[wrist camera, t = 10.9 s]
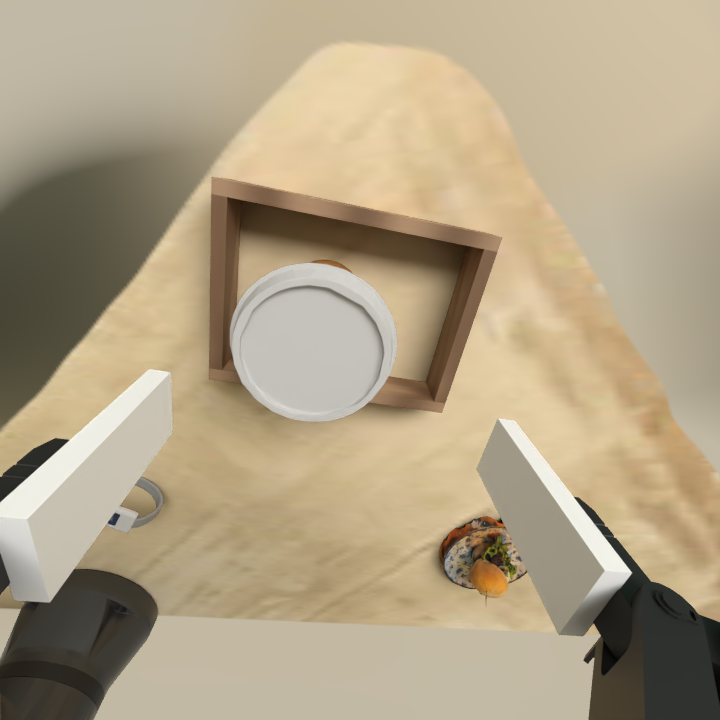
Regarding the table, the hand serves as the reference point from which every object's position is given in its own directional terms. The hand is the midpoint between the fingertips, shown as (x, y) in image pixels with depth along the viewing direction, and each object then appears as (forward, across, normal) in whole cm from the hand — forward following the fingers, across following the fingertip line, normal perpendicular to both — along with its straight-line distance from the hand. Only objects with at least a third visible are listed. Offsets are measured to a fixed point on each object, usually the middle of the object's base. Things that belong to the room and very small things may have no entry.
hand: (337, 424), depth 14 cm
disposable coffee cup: (+18, +1, 0) cm, 18 cm away
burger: (+18, -23, +28) cm, 41 cm away
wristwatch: (+18, +18, +23) cm, 34 cm away
